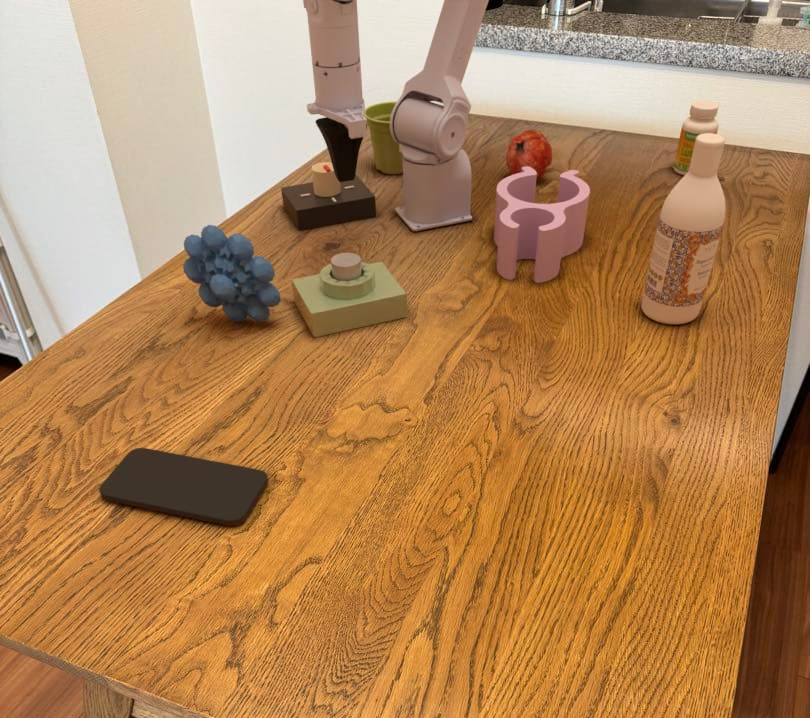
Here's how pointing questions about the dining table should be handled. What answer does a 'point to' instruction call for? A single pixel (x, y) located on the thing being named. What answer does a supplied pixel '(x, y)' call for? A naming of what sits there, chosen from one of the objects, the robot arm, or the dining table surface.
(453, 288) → the dining table surface
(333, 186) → the dial
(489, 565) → the dining table surface
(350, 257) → the pink push button
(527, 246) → the clip
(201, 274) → the grapes
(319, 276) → the green button base
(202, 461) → the phone
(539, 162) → the pomegranate
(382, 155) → the plant pot
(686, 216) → the bath foam
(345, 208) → the dial panel
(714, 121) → the supplement bottle
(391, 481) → the dining table surface
